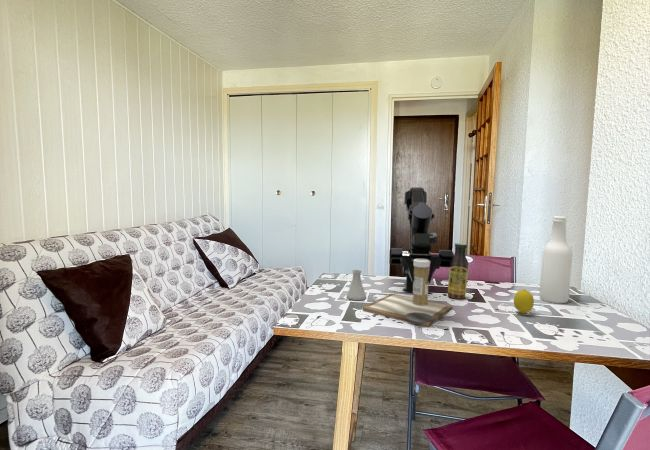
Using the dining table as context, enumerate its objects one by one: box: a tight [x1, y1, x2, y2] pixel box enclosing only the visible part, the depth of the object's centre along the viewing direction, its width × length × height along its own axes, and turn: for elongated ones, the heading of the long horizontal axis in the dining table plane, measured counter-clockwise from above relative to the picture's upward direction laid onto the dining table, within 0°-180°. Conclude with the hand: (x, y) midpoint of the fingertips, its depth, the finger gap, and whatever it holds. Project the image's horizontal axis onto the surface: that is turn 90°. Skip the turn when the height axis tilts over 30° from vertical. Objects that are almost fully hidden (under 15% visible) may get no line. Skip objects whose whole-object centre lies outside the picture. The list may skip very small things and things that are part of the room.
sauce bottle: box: [447, 242, 469, 300], centre depth 129 cm, size 7×6×20 cm
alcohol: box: [539, 215, 573, 305], centre depth 126 cm, size 9×9×30 cm
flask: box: [346, 269, 367, 301], centre depth 128 cm, size 7×7×10 cm
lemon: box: [513, 288, 535, 315], centre depth 113 cm, size 6×6×8 cm
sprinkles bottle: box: [412, 258, 430, 306], centre depth 105 cm, size 5×5×14 cm
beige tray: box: [362, 293, 453, 328], centre depth 116 cm, size 21×22×1 cm
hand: (421, 281), depth 104 cm, fingers closed on sprinkles bottle, 4 cm apart
